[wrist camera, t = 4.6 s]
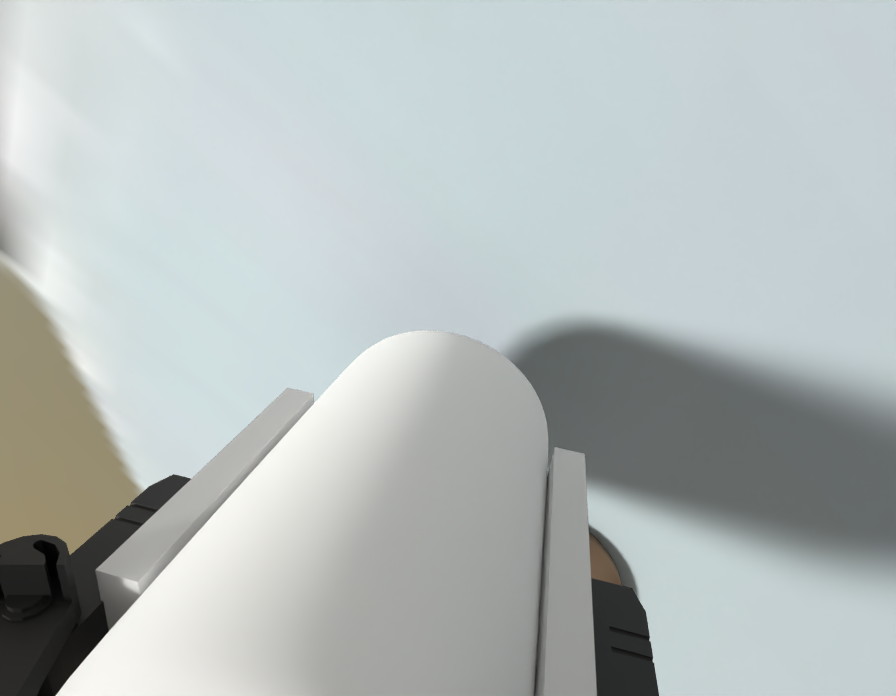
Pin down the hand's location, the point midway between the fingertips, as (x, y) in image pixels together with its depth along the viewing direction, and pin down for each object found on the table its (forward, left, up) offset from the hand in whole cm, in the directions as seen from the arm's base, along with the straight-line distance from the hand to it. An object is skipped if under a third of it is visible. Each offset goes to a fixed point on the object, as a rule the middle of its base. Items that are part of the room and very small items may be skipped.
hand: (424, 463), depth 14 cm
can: (0, 0, -2) cm, 2 cm away
